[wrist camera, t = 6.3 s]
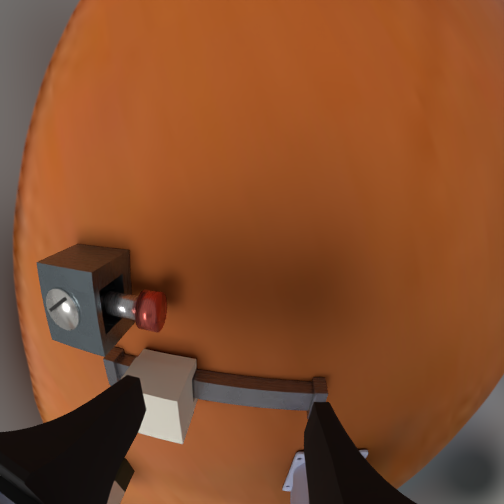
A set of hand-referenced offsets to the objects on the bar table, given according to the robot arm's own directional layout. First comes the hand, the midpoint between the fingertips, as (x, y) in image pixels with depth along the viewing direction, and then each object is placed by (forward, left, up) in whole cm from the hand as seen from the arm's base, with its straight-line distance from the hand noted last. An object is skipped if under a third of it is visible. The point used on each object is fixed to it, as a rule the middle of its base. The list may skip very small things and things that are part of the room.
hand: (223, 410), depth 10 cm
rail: (-7, +2, -10) cm, 13 cm away
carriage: (-7, +6, -10) cm, 14 cm away
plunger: (0, +7, -8) cm, 11 cm away
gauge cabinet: (0, +11, -10) cm, 15 cm away
